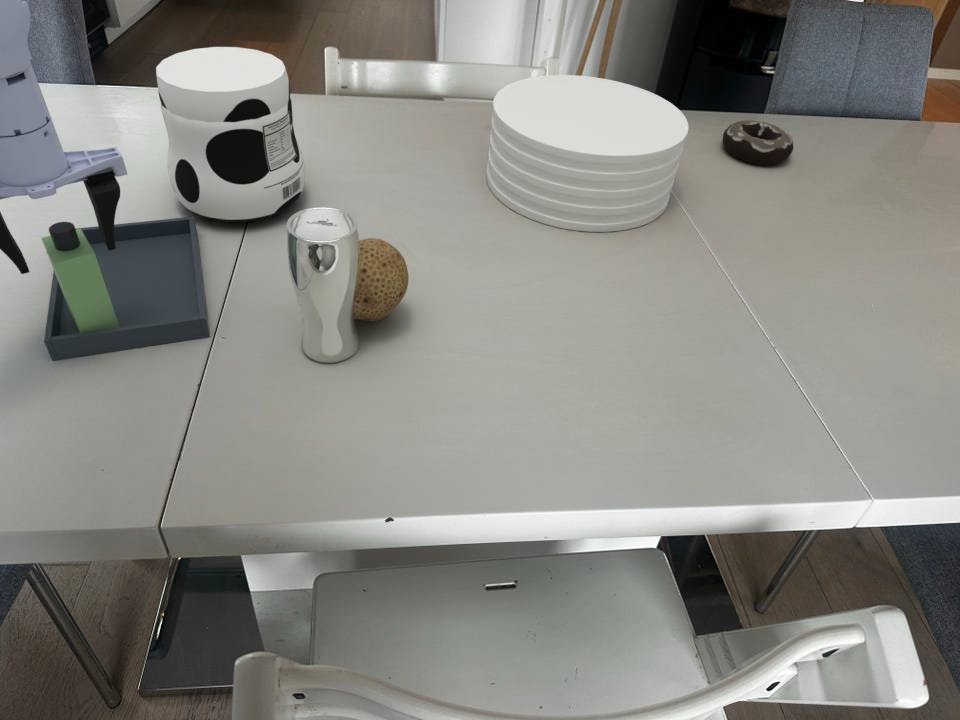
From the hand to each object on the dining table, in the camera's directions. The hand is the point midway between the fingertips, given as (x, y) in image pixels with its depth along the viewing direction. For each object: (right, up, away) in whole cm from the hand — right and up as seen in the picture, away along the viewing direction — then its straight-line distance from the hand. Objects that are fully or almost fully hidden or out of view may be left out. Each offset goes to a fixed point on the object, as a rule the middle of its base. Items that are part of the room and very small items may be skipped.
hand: (67, 256), depth 68 cm
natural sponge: (+27, -6, +12) cm, 30 cm away
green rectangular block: (-1, -6, +7) cm, 10 cm away
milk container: (+7, +12, +30) cm, 33 cm away
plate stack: (+55, +17, +41) cm, 70 cm away
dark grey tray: (0, -2, +13) cm, 13 cm away
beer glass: (+23, -9, +9) cm, 26 cm away
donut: (+87, +26, +54) cm, 106 cm away
